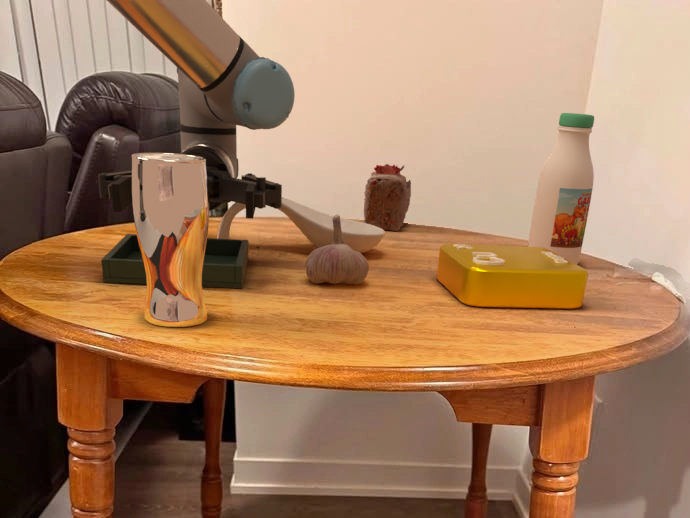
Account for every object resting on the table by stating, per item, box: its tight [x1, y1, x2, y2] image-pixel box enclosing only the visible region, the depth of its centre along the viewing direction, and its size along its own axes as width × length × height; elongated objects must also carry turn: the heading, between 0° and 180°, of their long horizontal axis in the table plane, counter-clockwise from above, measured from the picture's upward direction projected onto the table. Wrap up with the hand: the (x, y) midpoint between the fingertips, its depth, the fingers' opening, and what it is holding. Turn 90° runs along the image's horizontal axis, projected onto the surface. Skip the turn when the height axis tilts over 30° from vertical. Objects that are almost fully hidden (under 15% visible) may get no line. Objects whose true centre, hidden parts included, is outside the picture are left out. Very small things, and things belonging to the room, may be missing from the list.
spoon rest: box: [216, 197, 386, 254], centre depth 110 cm, size 24×12×7 cm, turn 93°
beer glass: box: [131, 152, 210, 328], centre depth 74 cm, size 7×7×15 cm
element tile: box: [436, 243, 589, 310], centre depth 95 cm, size 15×15×5 cm
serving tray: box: [101, 233, 249, 290], centre depth 95 cm, size 16×16×3 cm
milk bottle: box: [527, 112, 595, 265], centre depth 110 cm, size 8×8×20 cm
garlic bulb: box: [305, 214, 370, 285], centre depth 93 cm, size 8×7×8 cm
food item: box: [363, 163, 412, 232], centre depth 133 cm, size 14×8×10 cm, turn 177°
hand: (183, 201), depth 81 cm, fingers open, 13 cm apart
